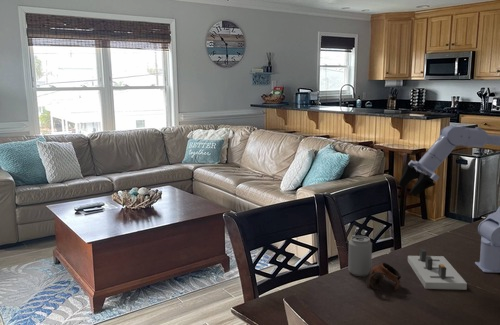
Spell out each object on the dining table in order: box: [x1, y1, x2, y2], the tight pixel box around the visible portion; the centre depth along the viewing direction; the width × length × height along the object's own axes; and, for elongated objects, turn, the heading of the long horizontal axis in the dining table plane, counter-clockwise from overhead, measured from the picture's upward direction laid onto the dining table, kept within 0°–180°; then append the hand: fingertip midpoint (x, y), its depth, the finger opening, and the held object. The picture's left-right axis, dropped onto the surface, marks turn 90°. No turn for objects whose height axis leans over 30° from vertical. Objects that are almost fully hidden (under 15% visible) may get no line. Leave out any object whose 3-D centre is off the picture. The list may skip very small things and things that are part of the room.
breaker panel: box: [407, 248, 468, 291], centre depth 144 cm, size 12×22×6 cm, turn 174°
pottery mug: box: [365, 261, 402, 291], centre depth 135 cm, size 12×10×8 cm
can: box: [347, 235, 373, 277], centre depth 146 cm, size 8×8×12 cm
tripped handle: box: [438, 264, 446, 278], centre depth 137 cm, size 1×3×4 cm, turn 174°
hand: (406, 190), depth 144 cm, fingers open, 7 cm apart
